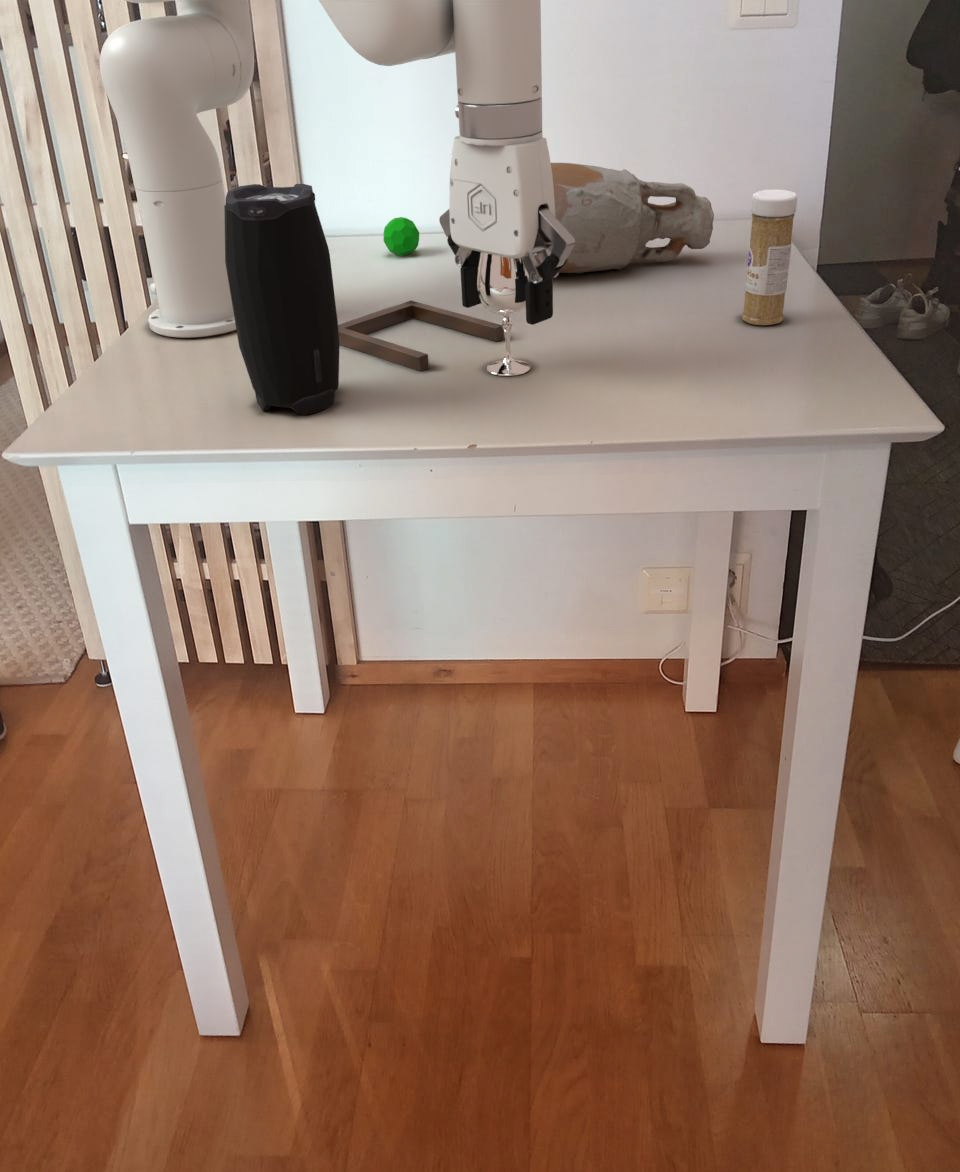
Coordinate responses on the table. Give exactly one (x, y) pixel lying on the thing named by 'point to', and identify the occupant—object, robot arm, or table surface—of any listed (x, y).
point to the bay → (357, 328)
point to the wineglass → (503, 301)
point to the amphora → (624, 217)
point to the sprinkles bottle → (769, 256)
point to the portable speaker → (282, 296)
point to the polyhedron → (401, 236)
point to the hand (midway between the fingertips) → (506, 311)
